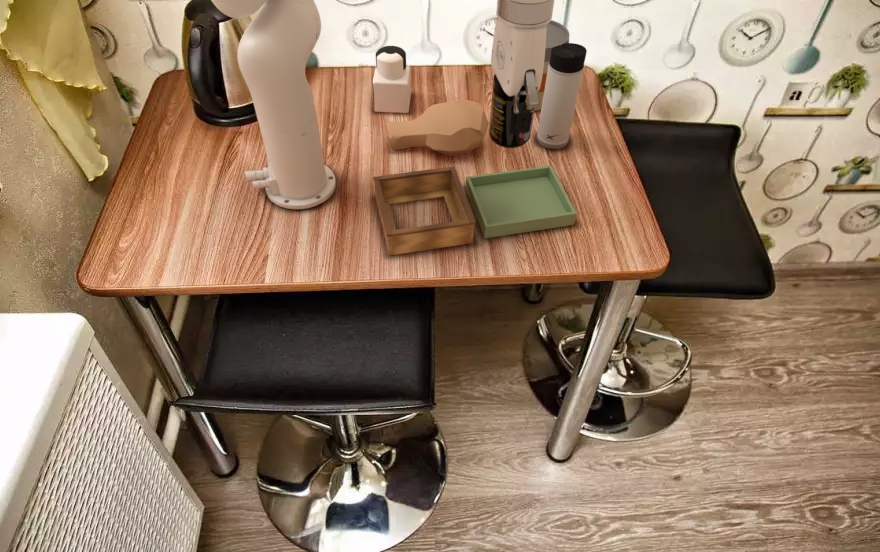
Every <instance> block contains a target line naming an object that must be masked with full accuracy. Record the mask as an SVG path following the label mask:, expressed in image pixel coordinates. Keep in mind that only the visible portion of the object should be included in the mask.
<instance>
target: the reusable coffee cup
mask: <svg viewBox="0 0 880 552" xmlns="http://www.w3.org/2000/svg"><path fill="white" fill-rule="evenodd" d="M563 43H570V31H569V30H568V28H567V27H566V26H564V25H563V24H562V23H560V22H558V21H555V20H553V19H551V21H550V22H549V23H548V24H547V30H546V48H545V59H544V68H543V75H542V81H541V86H540V89H539V91H538V92H537V97H538V105H537V106H536V107H535V110H534V112H535V111H541V108H542V102H543V96H544V89H545V83H546V77H547V71H548V66H549V61H550V55H551V49H552V48H553V47H556V46H558V45H562V44H563Z"/></svg>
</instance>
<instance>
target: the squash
mask: <svg viewBox="0 0 880 552" xmlns="http://www.w3.org/2000/svg"><path fill="white" fill-rule="evenodd" d="M489 125H490V122H489V121H488V118H487V116H486V113H485V109H484V108H483V106H482V104H481V103H480V102H476V101H473V100H469V99H466V98H455V99H451V100H449V101H446V102H440V103H436V104H432V105H431V106H429V107H428V108H427V109H425V110H424V112H423V113H422V114H421V115H419V116H418V117H416V118H415V119H410V120H404V121H388V122H387V123H385V131H386V134H387V139H386V145H387V146H388V147H389V148H390V149H391V150H392V151H398V150H402V149H406V148H407V149H408V148H417V147H418V148H426V149H431V150H433V151H435V152H437V153H439V154H442V155H445V156H448V157H452V156H460V155H461V156H462V155H467V154H469V153H471V152H472V151H473V150H476V149H477V148H479V147H481V146H482V145H484V139H485V137H486V135H487V134H486V133H487V130H488V128H489Z"/></svg>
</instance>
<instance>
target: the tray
mask: <svg viewBox="0 0 880 552" xmlns="http://www.w3.org/2000/svg"><path fill="white" fill-rule="evenodd" d="M465 190H466V193H467V196H468V198H469V200H470V201H469V202H470V203H471V206H472V209H473V212H474V214H475V217H476V219H477V222H478V225H479V227H480V230H481V233H482V235H483V238H484V239H490V238H495V237H496V238H497V237H503V236H509V235H516V234H524V233H529V232H535V231H536V232H537V231H543V230H549V229H555V228H556V229H557V228H562V227H568V226H569V227H570V226H574V225H575V222H576V220H577V219H576V218H577V215H578V214H577V211H576V209H575V207H574V205H573V204H572V201H571V199H570V197H569V196H568V194H567V192H566V191H565V188H564V186H563V185H562V183H561V181H560V179H559V177H558V176H557V173H556V172H555V169H554V167H553V166H552V165H551V164H550V165H543V166H535V167H529V168H528V167H527V168H521V169H514V170H505V171H498V172H491V173H483V174H477V175H470V176H466V177H465Z"/></svg>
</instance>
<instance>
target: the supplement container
mask: <svg viewBox="0 0 880 552" xmlns="http://www.w3.org/2000/svg"><path fill="white" fill-rule="evenodd" d="M492 79H493V81H492V93H491V104H490V114H489V115H490V116H489V124H488V136H489V139H490V140H491V141H492V142H493V143H494V144H495V145H497V146H499V147H501V148H504V149H516V148H517V149H518V148H520V147H522V146H525V145H526V144H527V143H528V142H529V141H530V139H531V136H532V130H533V123H534V121H533V120H534V116H535V111H533V112H532V118H531V125H530V131H529V132H527V133H519V134H510V133H509V122H510V114H511V110H514V109H513V96H508V95H507V94H506V93H505V92H504V90H503V88H502V86H501V85H500V83H499V81H498V79H497V77H496V75H495V73H494V75H493V78H492ZM520 90H525V86H522V87H521V89H520ZM525 100H526V95H521V96H519V104H520V103H522V102H525ZM534 110H535V109H534Z"/></svg>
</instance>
